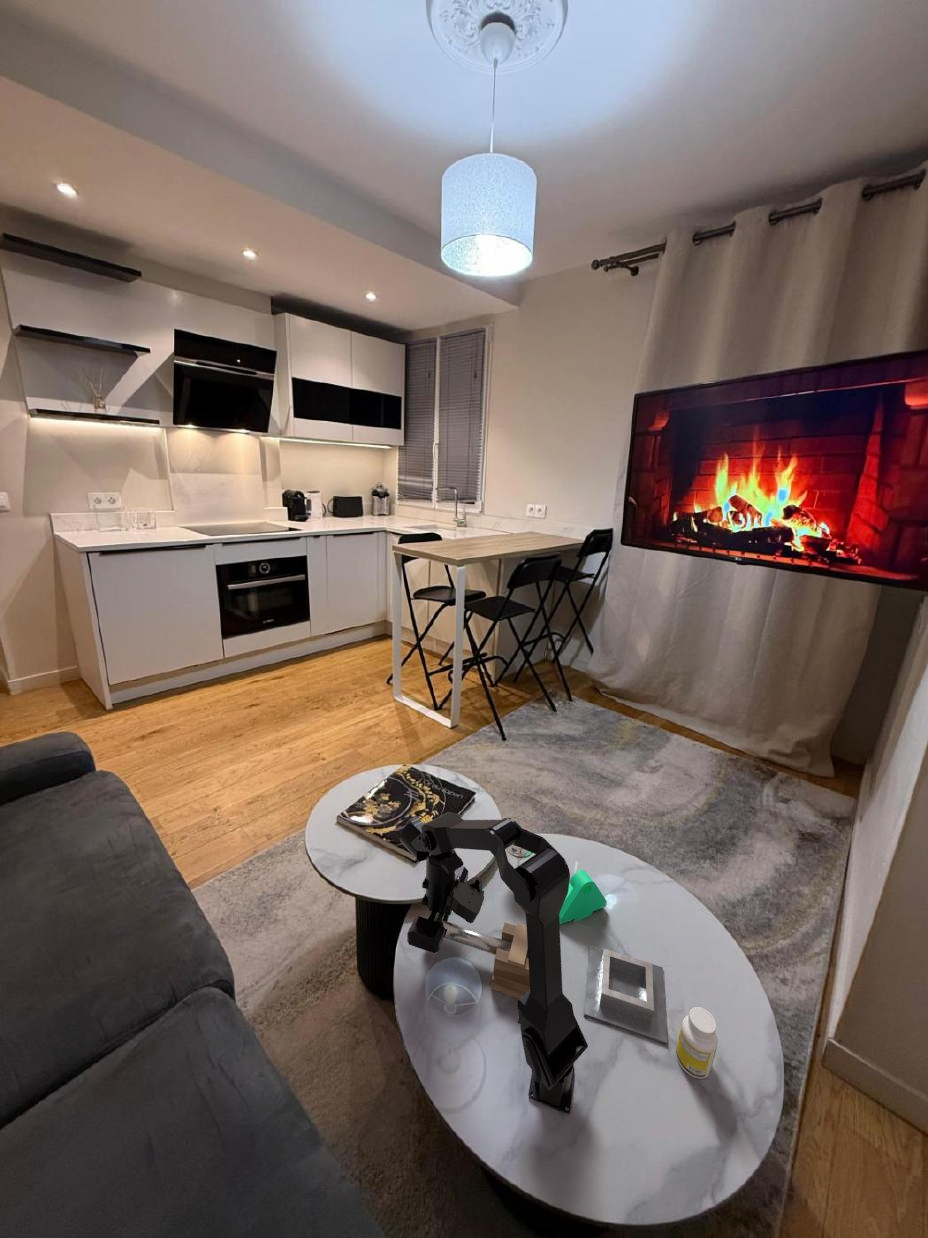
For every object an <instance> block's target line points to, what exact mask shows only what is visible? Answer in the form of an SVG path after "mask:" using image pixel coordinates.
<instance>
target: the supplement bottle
mask: <svg viewBox="0 0 928 1238" xmlns="http://www.w3.org/2000/svg"><path fill="white" fill-rule="evenodd" d="M716 1030H717V1022H716V1019H715V1017H714V1016H713V1015H712V1014H711V1013H710V1012H709V1011H708V1010H707V1009H705V1008H703V1007H699V1006H694V1007H692V1008H691V1009H690V1011H689V1014H688V1015H686V1016H685V1017H684V1018H683V1020H682V1023H681V1026H680V1031H679V1037H678V1040H677V1045H676V1049H675V1050H676V1051H675V1054H676V1058H677V1061H678V1064H679V1065H680V1067H681V1068H682V1069H683V1071H685V1072H686V1074H687V1075H689V1076H691V1077H692V1078H693V1079H699V1080H700V1079H701V1080H702V1079H706V1078H707V1077H709V1075H710V1074H711V1071H712V1068H713V1063H714V1060H715V1056H716V1053H717V1048H718V1045H719V1037H718V1033H717V1031H716Z"/></svg>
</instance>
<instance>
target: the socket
mask: <svg viewBox="0 0 928 1238" xmlns="http://www.w3.org/2000/svg"><path fill="white" fill-rule="evenodd" d="M588 953H589V955H588V964H587V965H588V966H587V975H586V984H585V985H586V988H585V998H584V1009H583V1017H585V1018H588V1019H592V1020H594V1021H596V1022H599V1023H602V1024H605V1025H608V1026H610V1027H611V1026H612V1027H613V1028H616V1029H619V1030H623V1031H625V1032H628V1033H631V1034H634V1035H637V1036H640V1037H642V1038H645V1039H648V1040H650V1041H654V1042H656V1043H658V1044H662V1045H665V1046H667V1045H668V1033H667V1032H668V1031H667V1030H668V1028H667V1014H666V1012H667V1011H666V999H665V996H666V995H665V983H664V981H665V979H664V968H663V967H662V966H660V965H656V964H653V962H652V963H651V962H648V961H645V960H641V959H638V958H636V957H632V956H629V955H626V954H622V953H619V952H616V951H613V950H610V949H606V948H602V947H599V946H595V945H592V944H590V945H589V952H588Z"/></svg>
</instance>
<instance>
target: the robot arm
mask: <svg viewBox="0 0 928 1238" xmlns="http://www.w3.org/2000/svg"><path fill="white" fill-rule="evenodd" d="M407 822H408V823H407V824H406V825H405V826H404V827H403V829H402V831H401V833H400V835H399V841H400V843H401V844H402V845H403V847H405V849H407V850H408V852H409V853H410V854H411V855H412V856H413V857H414V858H415V859H416V860H417V862H418V863H420V862H423V861H425V863H426V864H425V867H426V868H425V878H424V880H423V881H422V885H421V886H422V887H421V888H422V889H425V894H424V895H423V897H422V900H421V904H422V905H423V906H426V907H427V911H429V912H431V913H430V915H429V916H428V917H429V919H428V917H424V916H416V917H415V918H413V922H412V923H411V925H410V927H409V928H408V931H407V933H406V934H407V935H406V936H407V937H406V938H407V939H406V941H407V944H408V945H410V946H411V947H414V948H417V949H421V950H423V951H426V952H430V953H433V954H437V953H439V951H440V949H441V947H442V944H443V941H444V939H445V938H444V937H445V935H446V932H447V929H445V928H444V926H443V922H442V920H444V921H447V922H449V917H450V916H451V915H452V912H453V913H454V914H455V915H457V916H458V917H460V918H462V919H463V920H465V921H466V923H469V924H473V923H474V922H475V920H476V918H477V917H478V915H479V914H480V911H481V908H482V906H483V903H484V900H485V890H483V880H482V878H480V877H478V876H474V877H472V878H470V879H469V870H468V869H467V868H466V866H464V862H463V859H462V858H461V856H459V855H458V854H457V851H456V850H455V849H461V850H474V851H475V850H476V851H477V850H478V851H488V852H490V853H491V854H492V856H493V857H494V858H495V859H496V864H497V868H498V873H499V876H500V879H501V880H502V882H503V883H504V884H505V885H506V886H507V888H508V889H509V890H510V891H511V892H512V893H513V898H514V901H515V903H516V904H517V905H518V906H519V908H521V910H522V911H523V912H524V914H525V923H526V924H525V926H527V944H528V962H529V979H530V989H529V990H528V991H527V992H526V993H525V994H524V995H523V996H522V997H521V998H520V999H518V1000H517V1004H516V1007H517V1015H518V1019H517V1020H516V1022H517V1024H519V1025H520V1029H519V1030H520V1035H521V1042H522V1047H523V1052H524V1057H525V1063H526V1064H527V1066H529V1068H530V1070H531V1076H530V1082H529V1089H528V1098H529V1099H530V1100H532V1101H535V1102H538V1103H540V1104H543V1105H545V1106H547V1107H548V1108H552V1109H554V1110H557V1111H559V1112H561V1113H564V1114H566V1115H568V1114H569V1115H570V1113H571V1111H572V1110H571V1108H572V1099H573V1089H574V1080H575V1079H574V1078H575V1067H574V1064H575V1063H576V1061H577V1060H578V1059H579V1058H580V1057H581V1056H582V1054H583V1053H584V1052H585V1051H586V1050H587V1049H588V1048H589V1044H588V1043H587V1041H586V1038H585V1036H584V1033H583V1031H582V1029H581V1027H580V1025H579V1023H578V1019H576V1016H575V1012H574V1007H573V1004H572V1002H571V1001H570V1000H569V998H568V997H566V995H565V994H564V993H563V976H562V975H563V973H562V972H563V971H562V949H561V948H562V947H561V946H562V945H561V928H560V927H561V924H560V922H559V913H560V910H561V908H562V906H563V904H564V901H565V899H566V897H567V894H568V889H569V882H570V879H571V872H570V868H569V865H568V863H567V861H566V859H565V858H564V857H563V855H561V853H560V852H558V850H557V849H556V848H555V847H554V846H553V845H552V844H550V842H549V841H548V840H547V839H545V838H544V837H543V836H541V835H539V834H536V833H534V832H529V831H530V830H529V831H527V830H528V829H527V830H525V829H526V828H525V829H523V828H524V827H522V826H521V825H519V823H517V821H516V820H515V819H514V818H511V817H508V818H507V817H504V818H502V819H463V818H462V815H461V814H459V813H455V812H452V811H448V812H446V813H444V814H441V815H439V816H438V817H436V818H434V819H432V820H430V821H428V822H427V823H424V822H423V821H422V820H421V818H420V817H419V816H418V815H414V816H413V817H411V818H409V819H407ZM521 827H522V828H521ZM513 844H515V845H516V846H518V847H520V848H523V849H525V850H527V851H529V852H532V854H534V855H531V856H530V857H528V858H527V859H526V860H525V861H523V863H521V864H519V866H518V867H517V866H516V867H514V866H513V865H512V864H511V863H510V862H509V859H508V855H507V850H506V849H507V848H508V847H510V846H511V845H513ZM468 879H469V880H468ZM531 1094H532V1095H531Z"/></svg>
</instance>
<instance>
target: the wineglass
mask: <svg viewBox="0 0 928 1238" xmlns="http://www.w3.org/2000/svg"><path fill="white" fill-rule="evenodd" d="M520 827H521V828H523V829H525V830H527V831H529V832H531V830H529V829H528V828H525V827H522V826H520ZM505 851H506V853H507V854H508V855H509V856H511V857H512V858H513V859H515V860H516V867H518V866H519V865H520V863H521V862H520V861H522V860H527V859H529V858H531V857H532V854H533V853H532V852H529V851H527V850H525V849H523V848H520V847H518V846H516V845H515V844H513V845H511V846H510V847H508V848H507V849H505Z"/></svg>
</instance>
